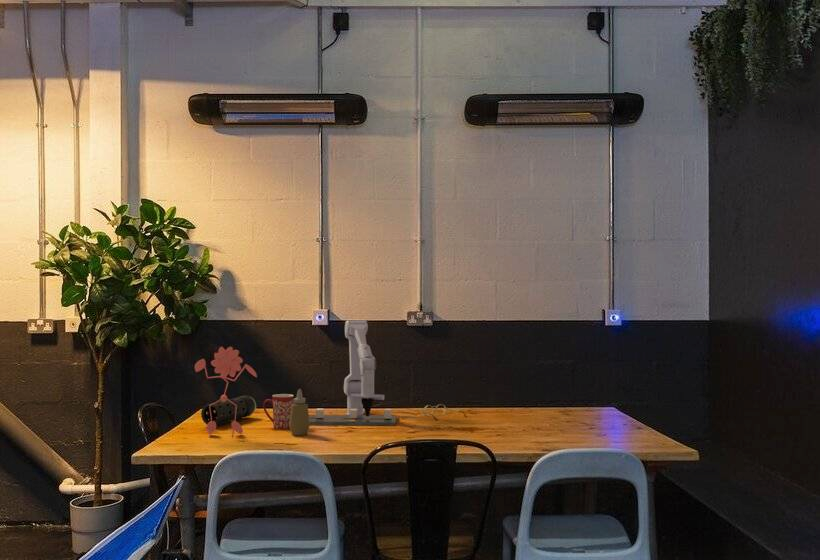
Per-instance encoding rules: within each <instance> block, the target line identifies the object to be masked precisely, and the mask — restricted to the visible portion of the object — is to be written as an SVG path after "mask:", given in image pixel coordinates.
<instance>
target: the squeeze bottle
mask: <svg viewBox="0 0 820 560" xmlns="http://www.w3.org/2000/svg"><path fill="white" fill-rule="evenodd" d="M309 415H310V414H309V406H308V403H306V397H303V391H302V389H301V388H299V389H298V390H297V393H296V397H295V398H294V397H293V404H292V405H291V413H290V423H289V427H290V428H289V430H290V432H291V435H292V436H297V437H299V436H302V437H303V436H306V435H308V432H309V429H310V426H311V425H310V424H309Z"/></svg>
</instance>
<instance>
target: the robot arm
mask: <svg viewBox="0 0 820 560" xmlns="http://www.w3.org/2000/svg"><path fill="white" fill-rule="evenodd" d="M344 323H345V324H344V337H345V338H346V339H348V345H349V346H348V347H349V348H348V350H349V352H348V354H349V374H348V375H347V376H346V377H345V378H344V381H343V393H344V394H345V395H346V397H347V399H346V402H347V404H346V405H347V406H346V407H347V412H345V414H344V415H350V409H358V415H366V416H369V415H371V409H372V406H373V404H374V402H375V400H381V401H384V400H385V394H375V371H376V369H377V360H376V357H375V356H374V355H373V354H372V350H371V347H370V345H369V344H367V338H366V335H367V333H368V328H369V325H368V321H367V320H366V319H364V320H346V321H345V322H344ZM363 409H364V410H363Z"/></svg>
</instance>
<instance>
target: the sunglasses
mask: <svg viewBox="0 0 820 560" xmlns="http://www.w3.org/2000/svg"><path fill="white" fill-rule="evenodd" d="M440 405H442V406H443V407H444V410H443V412H442V415H444V414H446V411H447V410H449V411H453V412H458V413H463V415H464V418H465V417H467V415H466V413H465V412H464V411H462V410H458V409H453V408H448V407H446V406H445V405H444V404H443V403H440V404H438V405H433V406H432V405H430V404H429V405H426V406H424V407H423V410H421V412H422V413H423V415H424V416H427V415H430V416H432V417H433V418H434V420H435V421H436V422H437V421H439V419H437V418H436V417H435V415H433V413H434V407H435V413H436V414H437V415H439V411H438V410H437V408H438V406H440ZM429 406H430V407H431V412H430V413H429V412H427V411H426V410H427V408H428V407H429Z"/></svg>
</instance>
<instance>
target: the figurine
mask: <svg viewBox="0 0 820 560" xmlns="http://www.w3.org/2000/svg"><path fill="white" fill-rule="evenodd" d="M233 348H234V347H233V346H229V347H227V348H226V349H225V348H224V347H223V346H220V347H219V349H218V352H214V355H213V356H214V359H213V360H211V361H210V364H211V366H213V367H215V368H214V373H215V374H220V375H215V376H208V371H207V366H206V363H207V362H206V360H205V358H202V359H199V360H198V361H197V362H196V363H195V364H194V370H195V372H196V373H197V372H200V371H202V370H203V369H204V370H205V371H204V372H205V376H206V379H215V378H220V379H222V380H224V381H225V382H226V384H225V389H224V394H221V396H220V398H219V399H218V400H217V401H215V402H212V403H213V404H215V403H216V402H220V401H223V402H225V401H227V400H228V401H230V399H229V398H228V396H227V394H226V393H227V389H228V385H229V381H232V382H236V380H238V377H239V376H240V375H241V374H242V372H244V370H245V369H246V371H247V372H248V373H249V374H251V375H252V376H253V377H255V378H257V377H258V375H257V372H256V370H255V369H254V368H253V367H252V366H251V365H248V364H247V363H245V364H244V366H243V367H241V364H242V363H243V362H244V360H243V358H242V357H240V356H239V354H240V350H238V349H233ZM237 372H239V373H238V374H237V375H236V373H237ZM228 375H229V376H230V377H231V378H230V377H227V376H228ZM235 376H236V377H235ZM234 377H235V378H234ZM232 378H233V379H232ZM228 380H229V381H228ZM230 402H231V401H230ZM231 403H233V402H231ZM210 404H211V403H210ZM213 404H211V405H213ZM233 404H234V403H233ZM211 405H209V408H210V406H211ZM234 405H236V404H234ZM236 410H237V406H236ZM210 416H211V409H210ZM205 428H206V432H207V433H208V434H209V435H208V438H211V435H212V433H214V432H216V429H217V426H216V423H215V422H214V421H213V422H212V416H211V422H209V423H208V425H207V424H206V427H205ZM231 428H232V430H228V432H232V433H231V438H234V436H235V435H234V434H235V432H236V433H238V434H240V435H242V434H243V432H244V431H243V426H242V425H241V424H240V423H239V422H238V421H236V411H235V420H233V421H231ZM247 438H249V436H247Z"/></svg>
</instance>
